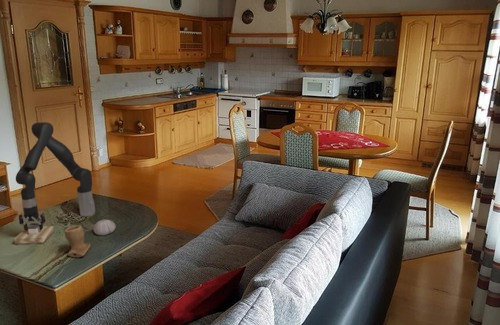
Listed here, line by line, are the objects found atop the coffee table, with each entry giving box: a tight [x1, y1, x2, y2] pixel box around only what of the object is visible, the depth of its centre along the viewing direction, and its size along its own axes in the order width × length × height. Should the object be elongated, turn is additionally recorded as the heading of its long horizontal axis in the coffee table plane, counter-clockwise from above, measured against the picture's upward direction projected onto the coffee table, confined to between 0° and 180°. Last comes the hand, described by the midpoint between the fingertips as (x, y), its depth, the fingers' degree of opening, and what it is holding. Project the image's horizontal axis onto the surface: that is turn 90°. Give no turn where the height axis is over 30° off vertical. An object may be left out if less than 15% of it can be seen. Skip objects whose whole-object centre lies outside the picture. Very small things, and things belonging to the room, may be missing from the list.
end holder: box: [14, 225, 55, 246], centre depth 248 cm, size 16×16×4 cm
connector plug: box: [27, 222, 40, 235], centre depth 247 cm, size 5×5×8 cm
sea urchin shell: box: [93, 218, 116, 236], centre depth 256 cm, size 13×14×8 cm
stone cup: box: [64, 224, 91, 259], centre depth 229 cm, size 15×12×15 cm
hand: (33, 229), depth 247 cm, fingers open, 8 cm apart
